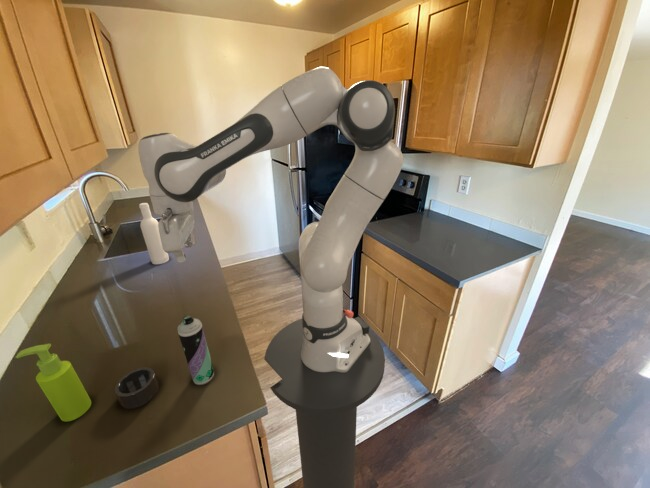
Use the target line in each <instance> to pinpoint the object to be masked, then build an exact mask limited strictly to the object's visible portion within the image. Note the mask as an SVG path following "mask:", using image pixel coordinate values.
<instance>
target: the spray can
mask: <svg viewBox="0 0 650 488" xmlns="http://www.w3.org/2000/svg"><path fill="white" fill-rule="evenodd" d="M177 333H178V337H179V341H180V344H181V347H182V350H183V353H184V356H185V359H186V363H187V366H188V370H189V371H190V372H189V373H190V375H191V379H192V381H193V382H192V383H194V384H195V385H199V386H200V385H201V386H203V385H205V384H208V383H209V382H210V381H211V380H212V379H213V378H214V376H215V369H214V365H213V362H212V357H211V353H210V350H209V347H208V342H207V339H206V334H205V331H204V328H203V323H202V321H201V320H200V319H199V318H195V317H192V316H191V315H185V316H184V317H183V320H182V322H180V323H179V325H178V326H177Z"/></svg>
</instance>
